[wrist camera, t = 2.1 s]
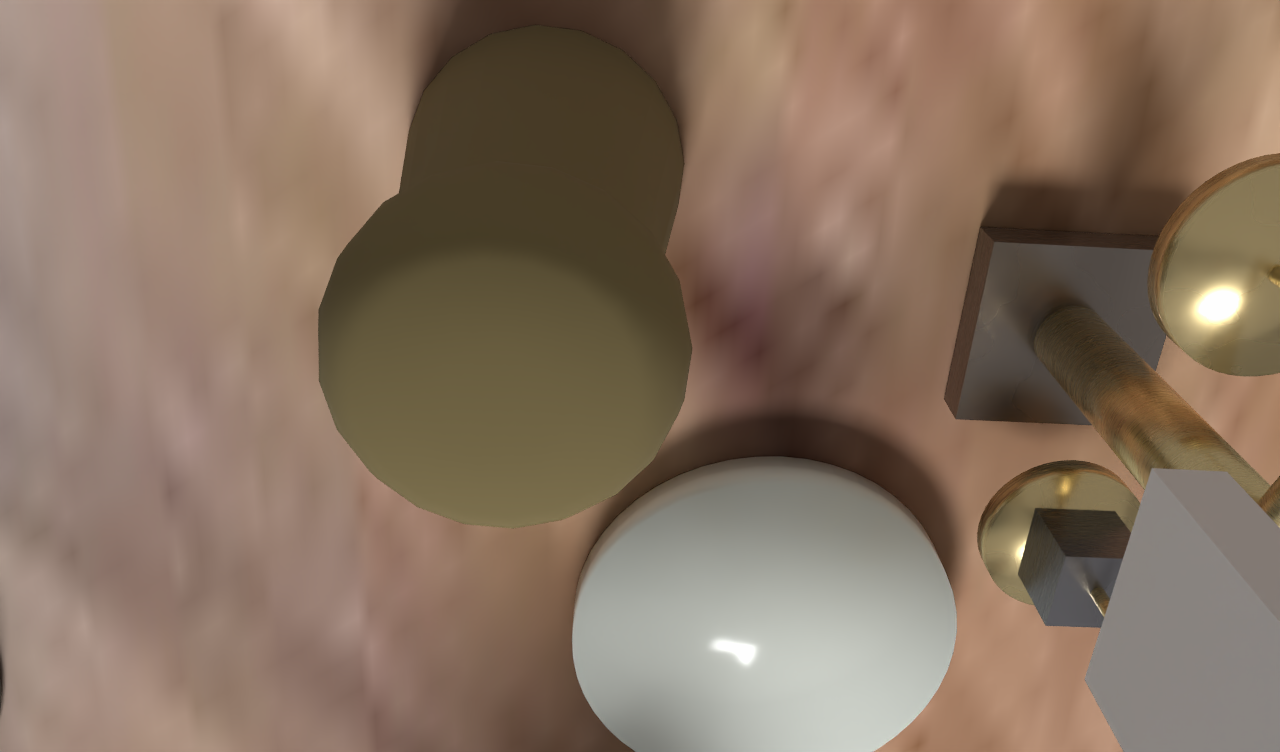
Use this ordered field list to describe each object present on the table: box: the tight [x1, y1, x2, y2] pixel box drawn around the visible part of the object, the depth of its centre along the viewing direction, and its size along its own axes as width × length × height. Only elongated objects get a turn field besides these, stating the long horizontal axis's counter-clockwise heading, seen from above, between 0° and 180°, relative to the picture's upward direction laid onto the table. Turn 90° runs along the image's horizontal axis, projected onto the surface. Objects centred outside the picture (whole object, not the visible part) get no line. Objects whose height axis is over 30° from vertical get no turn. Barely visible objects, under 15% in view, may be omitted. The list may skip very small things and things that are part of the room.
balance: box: [944, 153, 1280, 628], centre depth 20 cm, size 4×12×11 cm, turn 176°
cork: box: [318, 25, 692, 528], centre depth 19 cm, size 6×6×11 cm
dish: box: [572, 456, 957, 752], centre depth 29 cm, size 10×10×1 cm
